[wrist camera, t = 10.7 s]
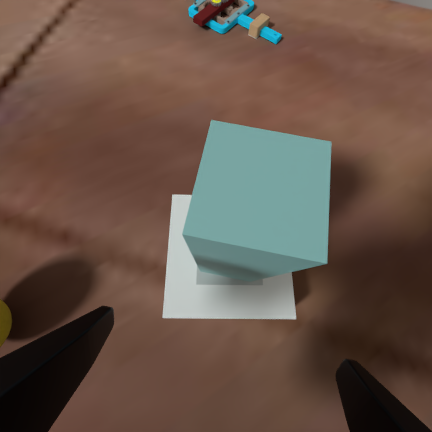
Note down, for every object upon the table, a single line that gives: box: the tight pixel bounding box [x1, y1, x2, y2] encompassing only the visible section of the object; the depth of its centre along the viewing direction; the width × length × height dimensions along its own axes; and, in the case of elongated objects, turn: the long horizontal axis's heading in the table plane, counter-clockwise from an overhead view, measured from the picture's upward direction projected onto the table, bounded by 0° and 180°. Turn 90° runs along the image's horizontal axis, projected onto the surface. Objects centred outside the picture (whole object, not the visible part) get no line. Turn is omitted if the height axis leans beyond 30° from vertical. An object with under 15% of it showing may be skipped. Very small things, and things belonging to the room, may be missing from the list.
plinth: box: [163, 195, 296, 319], centre depth 19 cm, size 10×10×3 cm
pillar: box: [182, 120, 331, 282], centre depth 12 cm, size 4×4×12 cm
